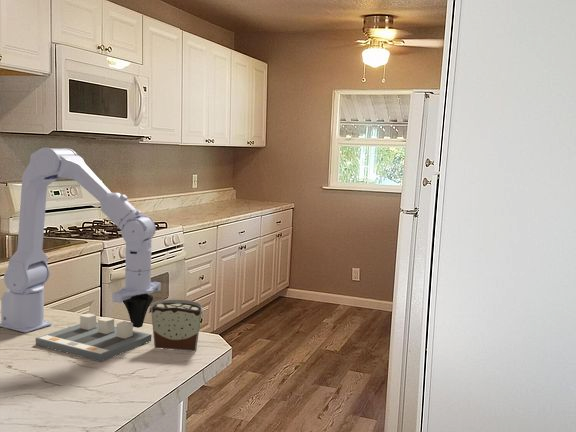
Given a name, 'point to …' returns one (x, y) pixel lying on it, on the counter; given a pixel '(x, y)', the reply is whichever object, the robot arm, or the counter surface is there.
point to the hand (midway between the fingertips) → (137, 326)
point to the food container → (176, 324)
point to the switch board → (91, 342)
